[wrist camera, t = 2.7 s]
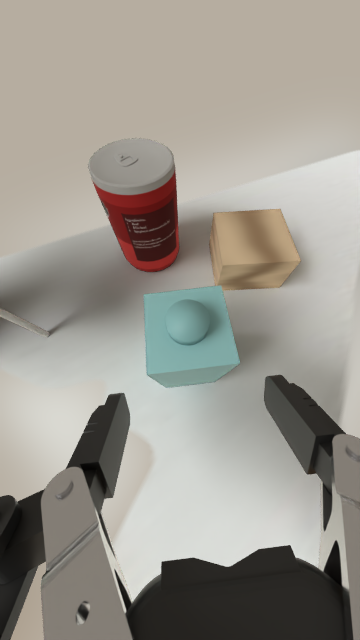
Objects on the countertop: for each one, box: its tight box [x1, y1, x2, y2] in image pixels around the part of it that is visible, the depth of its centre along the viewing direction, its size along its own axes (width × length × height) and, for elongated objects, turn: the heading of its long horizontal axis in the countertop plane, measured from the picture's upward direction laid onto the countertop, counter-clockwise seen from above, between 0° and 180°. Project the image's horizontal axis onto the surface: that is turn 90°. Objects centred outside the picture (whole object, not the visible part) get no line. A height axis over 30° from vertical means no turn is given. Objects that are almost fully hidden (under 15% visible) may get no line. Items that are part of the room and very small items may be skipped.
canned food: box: [88, 138, 179, 272], centre depth 21 cm, size 8×8×11 cm
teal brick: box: [144, 285, 240, 388], centre depth 15 cm, size 5×5×11 cm
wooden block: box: [209, 209, 301, 291], centre depth 23 cm, size 8×8×5 cm
